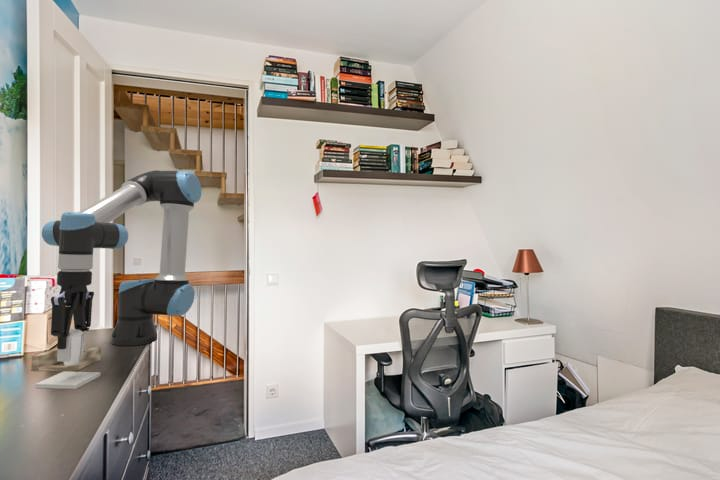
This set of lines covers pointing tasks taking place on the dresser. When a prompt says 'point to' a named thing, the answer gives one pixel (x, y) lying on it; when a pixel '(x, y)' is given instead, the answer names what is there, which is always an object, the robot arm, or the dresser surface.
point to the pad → (68, 380)
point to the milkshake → (74, 347)
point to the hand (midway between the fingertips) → (70, 358)
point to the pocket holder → (49, 358)
